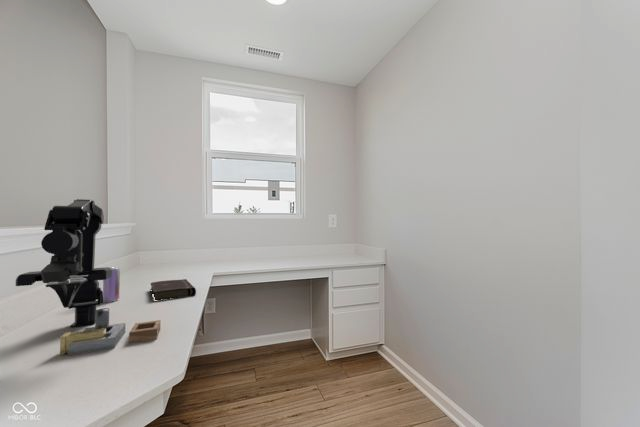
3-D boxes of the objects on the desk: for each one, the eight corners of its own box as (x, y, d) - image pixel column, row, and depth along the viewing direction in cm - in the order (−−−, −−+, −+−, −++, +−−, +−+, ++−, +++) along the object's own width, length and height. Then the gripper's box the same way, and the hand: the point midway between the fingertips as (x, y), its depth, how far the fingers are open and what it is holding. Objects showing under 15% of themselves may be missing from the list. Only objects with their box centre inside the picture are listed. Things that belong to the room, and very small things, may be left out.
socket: (85, 337, 82) (86, 328, 82) (125, 332, 86) (125, 322, 86) (68, 355, 71) (68, 344, 71) (114, 347, 75) (114, 337, 75)
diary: (187, 287, 151) (187, 278, 151) (195, 296, 130) (196, 286, 130) (148, 291, 140) (148, 282, 140) (150, 303, 119) (151, 291, 120)
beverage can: (110, 303, 118) (110, 269, 119) (99, 302, 119) (100, 268, 120) (122, 299, 124) (123, 267, 125) (112, 298, 125) (112, 266, 126)
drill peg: (97, 339, 81) (97, 309, 81) (110, 337, 82) (110, 307, 83) (93, 343, 78) (94, 312, 78) (106, 341, 79) (107, 310, 80)
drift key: (65, 350, 74) (65, 332, 74) (106, 343, 78) (106, 326, 78) (59, 355, 71) (60, 336, 71) (102, 348, 75) (102, 330, 75)
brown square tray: (135, 332, 85) (135, 323, 85) (160, 329, 88) (160, 320, 88) (129, 343, 78) (129, 332, 78) (156, 338, 81) (156, 328, 81)
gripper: (1, 255, 63) (-1, 322, 63) (99, 252, 71) (98, 311, 70) (29, 251, 73) (27, 308, 73) (112, 248, 81) (111, 300, 80)
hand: (66, 307), depth 74 cm, fingers closed
